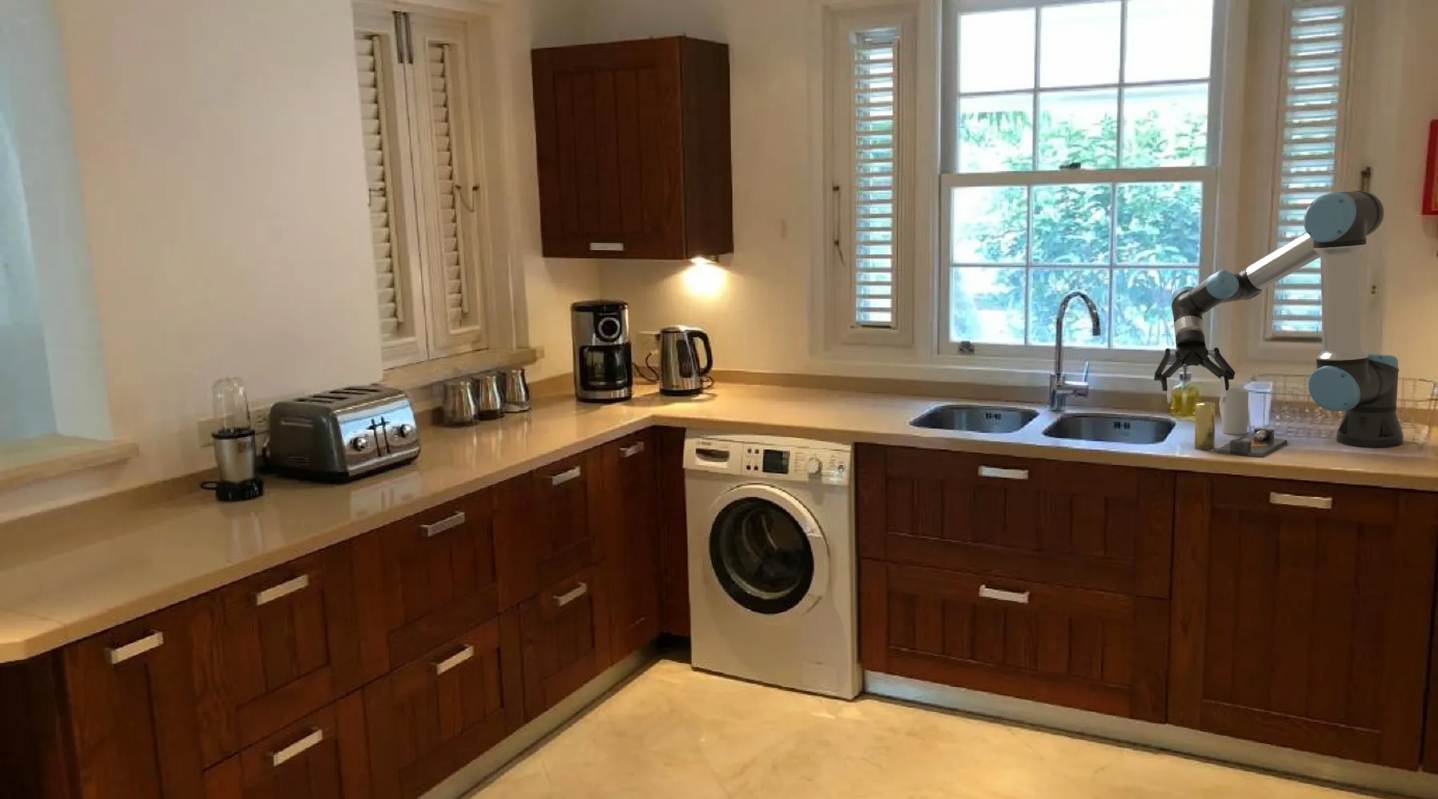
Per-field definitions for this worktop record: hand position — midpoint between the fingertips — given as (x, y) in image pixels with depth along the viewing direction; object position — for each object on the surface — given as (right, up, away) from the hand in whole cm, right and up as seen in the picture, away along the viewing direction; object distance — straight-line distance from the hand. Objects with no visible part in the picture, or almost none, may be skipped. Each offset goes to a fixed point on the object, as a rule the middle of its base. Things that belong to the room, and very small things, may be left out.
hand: (1196, 399), depth 308 cm
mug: (+15, -9, +14) cm, 23 cm away
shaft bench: (+12, -13, -7) cm, 18 cm away
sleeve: (0, -13, -4) cm, 14 cm away
